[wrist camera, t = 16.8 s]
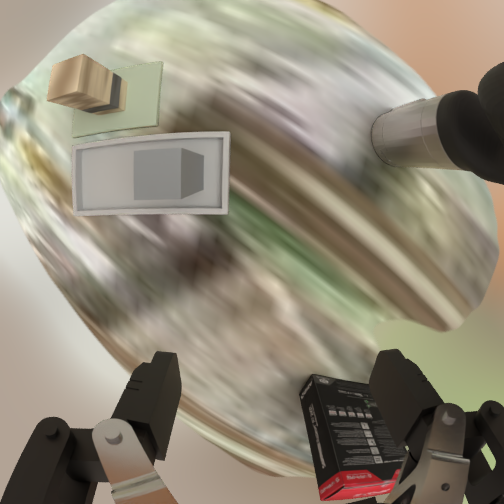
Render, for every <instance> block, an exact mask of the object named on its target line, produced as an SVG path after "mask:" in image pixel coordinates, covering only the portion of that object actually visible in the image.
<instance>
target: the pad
mask: <svg viewBox="0 0 504 504" xmlns="http://www.w3.org/2000/svg"><path fill="white" fill-rule="evenodd" d="M110 71H111V72H114V73H115V74H117V75H118V76H120V77H121V78H122V79H124V80H125V81H127V82H128V86H127V95H126V107H125V111H121V112H115V113H109V114H104V115H96V114H92V113H88V112H85V111H81V110H79V109H75V108H74V116H73V129H72V138H77V137H82V136H88V135H93V134H99V133H105V132H112V131H119V130H126V129H134V128H143V127H153V126H158V119H159V104H160V91H161V81H162V71H163V62H162V61H159V62H152V63H146V64H140V65H134V66H129V67H124V68H119V69H114V70H110Z"/></svg>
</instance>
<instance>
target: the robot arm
mask: <svg viewBox="0 0 504 504" xmlns="http://www.w3.org/2000/svg"><path fill="white" fill-rule="evenodd" d="M371 136H372V143H373V147H374V149H375V151H376V153H377V154H378V156H379V157H380V158H381V159H382V160H383V161H384V162H386V163H387V164H389V165H391V166H396V167H416V168H436V169H451V170H464V171H471V172H473V173H474V174H476V175H477V176H478V177H480V178H482V179H484V180H487V181H491V182H494V183H499V184H503V185H504V62H502V63H500V64H498V65H497V66H495V67H493V68H492V69H490V70H489V71H488V72H487V73H486V74H485V75H484V77H483V78H482V79H481V81H480V83H479V86H478V95H477V94H475V93H474V92H471V91H467V90H460V91H455V92H451V93H448V94H445V95H441V96H438V97H435V98H431V99H428V100H426V99H419V100H416V101H413V102H410V103H408V104H405V105H402V106H399V107H396V108H393V109H392V111H391V112H388V113H385V114H383V115H381V116H380V117H378V118H377V119H376V121H375V123H374V125H373V128H372V134H371ZM181 388H182V385H181V377H180V371H179V365H178V358H177V354H176V353H171V352H161V351H157V352H156V353H155V355H154V357H153V359H152V361H151V363H145V362H143V363H142V364H141V365H139V366H138V367H137V368H136V369H135V370H134V371H133V373H132V375H131V377H130V381H129V382H128V383H127V385H126V389H125V390H124V392H123V394H122V396H121V398H120V400H119V402H118V404H117V406H116V408H115V411H114V413H113V415H112V417H111V418H110V419H107V420H103V421H102V422H100V423H98V424H97V425H96V427H95V428H93V429H77V428H76V429H75V428H70V427H69V426H68V424H67V423H66V422H65V421H64V420H62V419H61V418H58V417H49V418H45V419H43V420H41V421H40V422H39V423H38V424H37V426H36V428H35V429H34V431H33V433H32V435H31V437H30V439H29V441H28V443H27V444H26V447H25V448H24V450H23V452H22V454H21V456H20V458H19V460H18V463H17V465H16V467H15V469H14V471H13V473H12V475H11V478H10V480H9V482H8V484H7V487H6V489H5V492H4V494H3V496H2V499H1V502H0V504H92V502H93V498H94V495H95V491H96V487H97V484H98V482H110V484H111V487H112V489H113V491H112V492H111V494H112V497H113V499H114V501H115V504H178V503H177V501H176V500H175V499H174V497H173V496H172V494H171V493H170V491H169V490H168V488H167V487H166V485H165V484H164V482H163V481H162V479H161V478H160V477H159V475H158V474H157V472H156V470H155V469H154V467H153V466H154V462H155V459H157V460H163V461H164V460H165V457H166V452H167V448H168V444H169V440H170V436H171V432H172V427H173V424H174V420H175V416H176V412H177V408H178V404H179V400H180V397H181ZM369 389H370V392H371V394H372V396H373V398H374V400H375V403H376V405H377V407H378V409H379V411H380V413H381V415H382V417H383V419H384V421H385V424H386V426H387V428H388V430H389V432H390V434H391V437H392V439H393V441H394V443H395V445H396V448H400V447H404V446H408V447H409V450H408V451H407V453H406V455H405V458H404V461H403V464H402V467H401V469H400V472H399V475H398V477H397V480H396V482H395V485H394V487H393V489H392V491H391V492H390V494H389V495H388V497H387V498H386V499H385V501H384V503H377V501H376V498H375V497H372V498H368V499H364V500H360V501H356V502H352V503H348V504H462V502H463V498H464V494H465V495H466V498H467V501H468V503H469V504H504V407H503V406H502V405H501V404H500V403H498V402H496V401H492V400H489V401H486V402H484V403H483V404H482V406H481V407H480V409H479V410H478V411H473V412H464V411H463V410H462V408H460V407H459V406H457V405H455V404H452V403H444V402H443V400H442V399H441V398H440V396H439V395H438V393H437V392H436V390H435V389H434V388H433V386H432V385H431V383H430V382H429V381H427V378H426V377H425V375H423V373H422V371H421V370H420V368H419V367H418V366H417V365H416V364H415V363H413V362H412V361H410V360H409V359H405V357H404V356H403V355H402V353H401V352H400V351H399V350H398V349H391V350H383V351H380V352H379V354H378V356H377V359H376V362H375V365H374V368H373V371H372V373H371V376H370V380H369ZM486 443H487V445H488V447H489V448H490V450H491V452H492V454H493V455H494V457H495V460H496V466H495V468H494V469H493V470H491V468H490V466H489V464H488V462H487V460H486V459H485V457H484V455H483V453H482V451H481V448H483V447H484V445H485V444H486Z"/></svg>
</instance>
